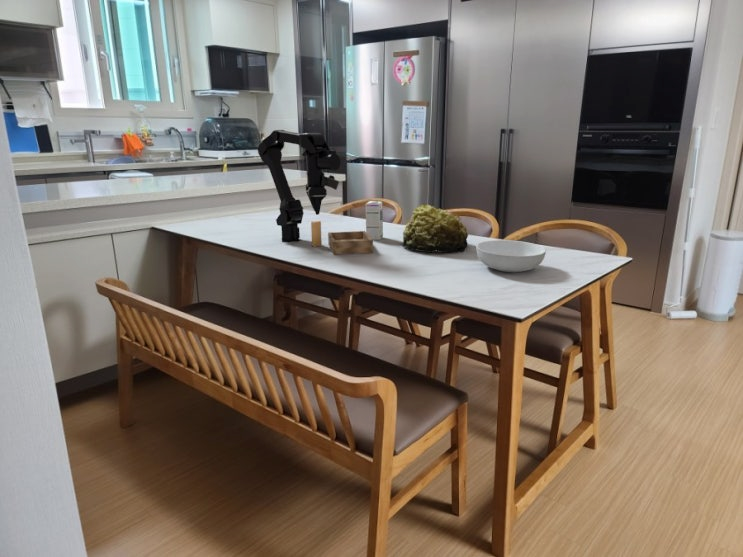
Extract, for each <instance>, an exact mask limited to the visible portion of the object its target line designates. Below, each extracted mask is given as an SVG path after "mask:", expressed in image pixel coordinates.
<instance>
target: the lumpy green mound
mask: <svg viewBox="0 0 743 557" xmlns="http://www.w3.org/2000/svg"><path fill="white" fill-rule="evenodd" d="M402 235H403V238H402V240H403V241H402V247H403V248H405V247H406V250H410V251H411V250H412V251H413V252H415V251H420V252H425V253H426V252H427V253H429V252H430V253H433V252H438V253H444V252H446V253H447V254H449V252H453V251H458V249H459V250H460V251H462V253H463V252H465V251H466V250H467V247H468V245H469V243H468V240H467V239H468V237H469V233H468V230H467V227H466V226H464V224H463V223H462V218H461V217H460V216H459V215H456V216H454V215H453V213H452V212H451V211H448V210H445V209H442V208H440V207H439V208H437V207H435V206H433V205H430V204H425V205H424V204H419V205H418V206H417V207H416V208H414V209H413V211H412V215H411V218H410V220H409V221H408V223H407V225H406V226H405V227H404V230H403V232H402Z"/></svg>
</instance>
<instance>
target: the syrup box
mask: <svg viewBox="0 0 743 557" xmlns="http://www.w3.org/2000/svg"><path fill="white" fill-rule="evenodd" d="M364 205H365V232H366V233H367V234H368V235H369V236H370V238H371V239H372V240H373V241H381V239H382V238H383V237H384V226H383V224H384V223H383V222H384V221H383V220H384V219H383V216H384V215H383V201H379V200H372V201H371V200H370V201H368V202H366V203H365V204H364Z"/></svg>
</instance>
